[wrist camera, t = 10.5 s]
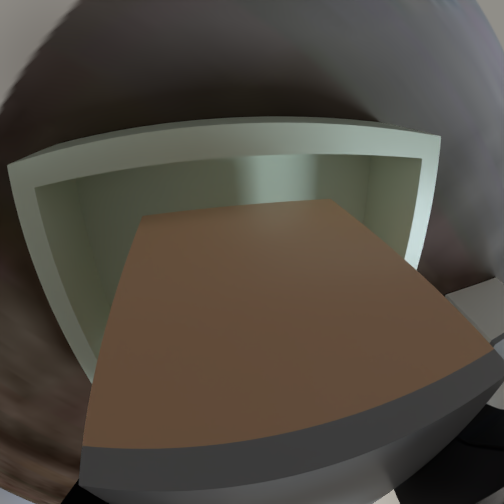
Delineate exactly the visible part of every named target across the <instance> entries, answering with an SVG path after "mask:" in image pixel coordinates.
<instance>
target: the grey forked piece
mask: <svg viewBox="0 0 504 504" xmlns="http://www.w3.org/2000/svg"><path fill="white" fill-rule="evenodd" d="M445 298H446V299H447V300H448V301H449V302H450V303H451V304H452V305H453V306H454V307H455V308H456V309H457V310H458V311H459V312H460V313H461V314H462V315H463V316H464V317H465V318H466V319H467V320H468V321H469V322H470V323H471V324H472V325H473V326H474V327H475V328H476V329H477V330H478V331H479V332H480V334H481V335H482V336H483V337H484V338H485V339H486V340H487V341H488V342H489V343H490V345H491V346H492V347H493V348H494V349H495V350H496V351H497V352H498V354H499V355H500V356H501V357H502V358H503V359H504V284H503V283H502V282H501V281H500V280H498V279H497V278H493V279H490V280H488V281H485V282H482V283H479V284H476V285H473V286H470V287H467V288H464V289H461V290H458V291H455V292H452V293H449V294H446V295H445Z"/></svg>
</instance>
